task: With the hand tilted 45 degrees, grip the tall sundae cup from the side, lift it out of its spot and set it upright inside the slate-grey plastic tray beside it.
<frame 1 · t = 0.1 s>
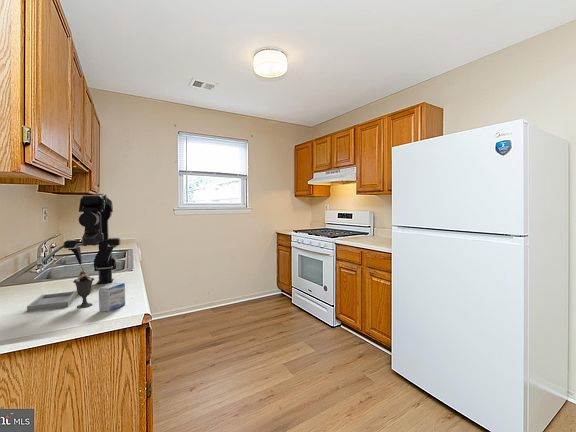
hand: (94, 263, 117), 15 cm above the countertop, tool pointing down, fingers open, 9 cm apart
sundae: (84, 306, 109), on the countertop
tray: (54, 303, 112), on the countertop
medicine box: (112, 308, 107), on the countertop
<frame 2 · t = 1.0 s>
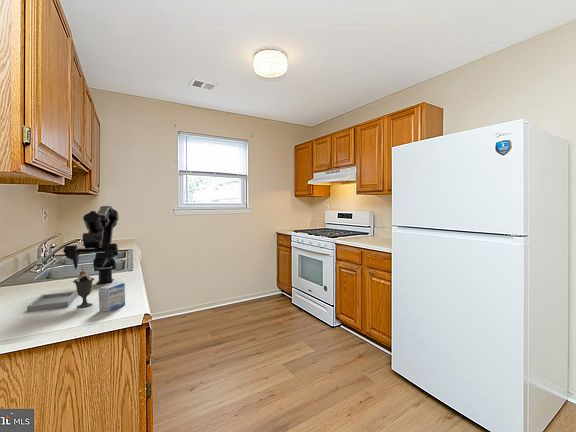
hand: (89, 267, 116), 13 cm above the countertop, tool tilted 45°, fingers open, 9 cm apart
nothing on the countertop moved.
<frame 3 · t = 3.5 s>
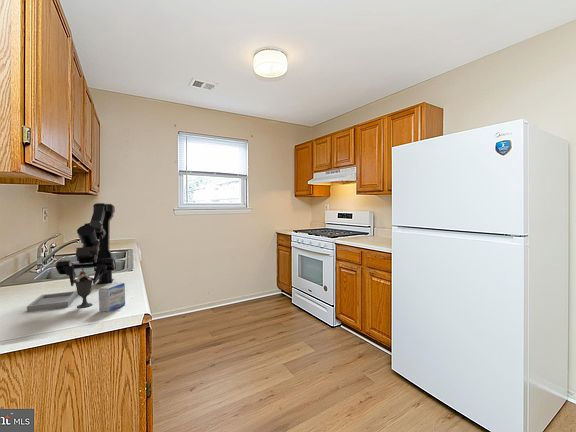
hand: (82, 284, 108), 9 cm above the countertop, tool tilted 45°, fingers closed on sundae, 6 cm apart
sundae: (84, 306, 109), on the countertop, touching gripper
everything else where it was.
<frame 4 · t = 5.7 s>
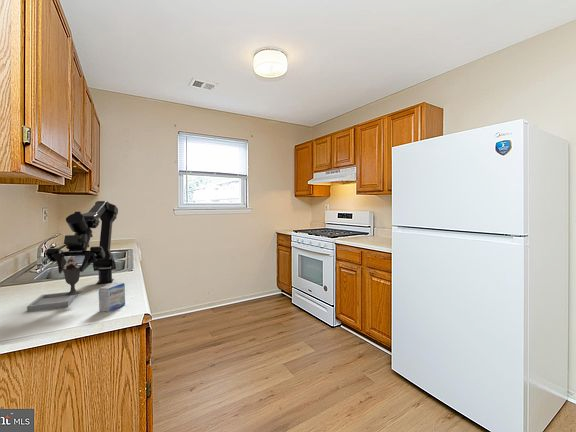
hand: (70, 272, 108), 13 cm above the countertop, tool tilted 45°, fingers closed on sundae, 6 cm apart
sundae: (72, 294, 110), point 4 cm above the countertop, touching gripper
everything else where it was.
when the fingers open (11 cm above the countertop, at t = 7.8 s): sundae drops 1 cm, resting on tray.
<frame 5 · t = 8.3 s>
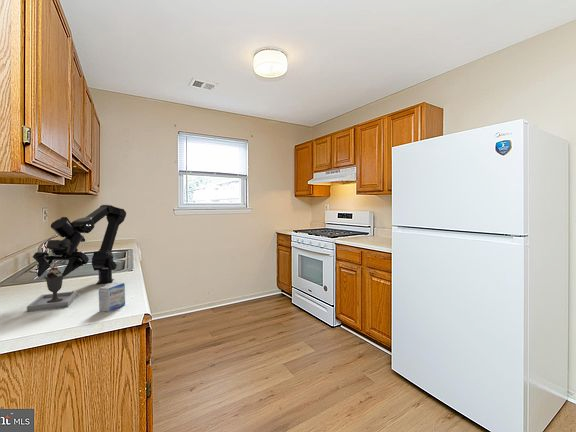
hand: (50, 276, 111), 11 cm above the countertop, tool tilted 45°, fingers open, 9 cm apart
sundae: (55, 301, 113), point 1 cm above the countertop, touching tray
everything else where it was.
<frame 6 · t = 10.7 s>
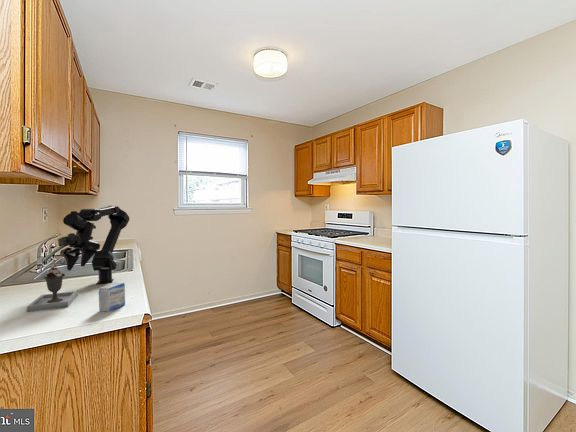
hand: (75, 268, 121), 12 cm above the countertop, tool tilted 30°, fingers open, 9 cm apart
nothing on the countertop moved.
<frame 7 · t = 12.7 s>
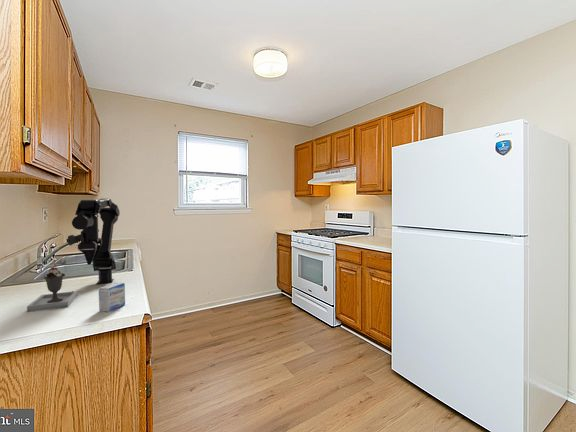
hand: (91, 262, 127), 13 cm above the countertop, tool pointing down, fingers open, 9 cm apart
nothing on the countertop moved.
at the end: sundae inside the target area on the tray (0.2 cm from its centre), point 0.6 cm above the tray's base; sundae tilted 0°; the gripper is holding nothing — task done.
